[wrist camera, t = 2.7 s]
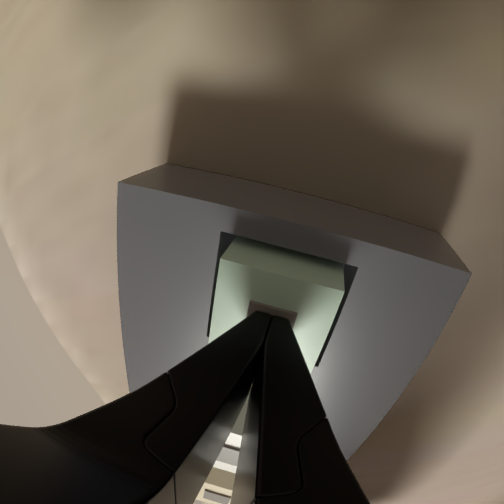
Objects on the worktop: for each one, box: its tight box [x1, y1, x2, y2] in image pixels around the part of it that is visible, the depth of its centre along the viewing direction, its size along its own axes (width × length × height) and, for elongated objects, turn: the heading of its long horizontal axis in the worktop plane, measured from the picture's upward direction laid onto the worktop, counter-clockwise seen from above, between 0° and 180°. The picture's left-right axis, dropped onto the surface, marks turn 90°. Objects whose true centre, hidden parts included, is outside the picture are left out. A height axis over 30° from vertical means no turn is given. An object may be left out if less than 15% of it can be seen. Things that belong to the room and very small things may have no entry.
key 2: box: [196, 467, 235, 504], centre depth 13 cm, size 3×3×3 cm
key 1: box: [208, 235, 345, 374], centre depth 9 cm, size 3×3×3 cm
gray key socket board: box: [117, 164, 471, 461], centre depth 12 cm, size 15×10×3 cm, turn 170°
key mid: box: [213, 383, 253, 474], centre depth 10 cm, size 3×3×3 cm
